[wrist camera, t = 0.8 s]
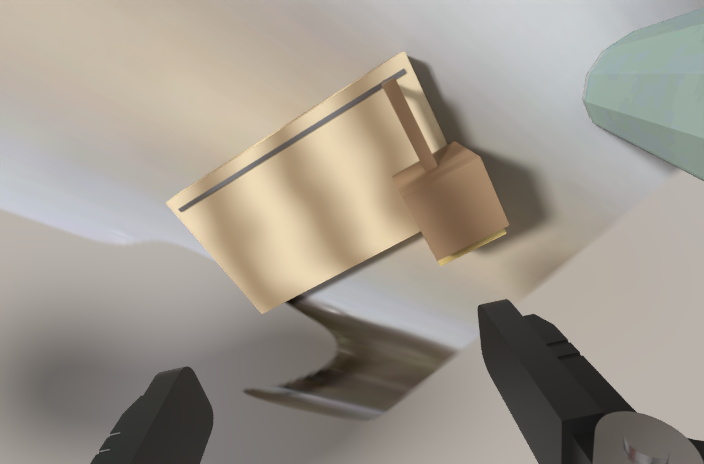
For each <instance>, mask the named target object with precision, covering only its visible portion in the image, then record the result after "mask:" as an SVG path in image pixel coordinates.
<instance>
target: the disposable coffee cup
mask: <svg viewBox="0 0 704 464" xmlns="http://www.w3.org/2000/svg"><path fill="white" fill-rule="evenodd" d="M583 101H584V104H585V107H586V109H587V112H588V114H589V117H590V118H591V120H592V122H593V123H595V124H597V125H598V126H600V127H602V128H604V129H605V130H607V131H609V132H611V133H613V134H615V135H616V136H618V137H620V138H622V139H624V140H626V141H628V142H630V143H632V144H634V145H636V146H638V147H639V148H641V149H643V150H645V151H647V152H649V153H651V154H653V155H655V156H657V157H659V158H661V159H662V160H664V161H666V162H668V163H670V164H672V165H674V166H676V167H678V168H680V169H682V170H684V171H685V172H687V173H689V174H691V175H693V176H695V177H697V178H699V179H701V180H703V181H704V8H701V9H698V10H695V11H692V12H690V13H687V14H684V15H681V16H678V17H675V18H672V19H669V20H666V21H663V22H660V23H657V24H654V25H651V26H648V27H645V28H642V29H639V30H636V31H633V32H632V33H630V34H629V35H627V36H626V37H624V38H622V39H621V40H619V41H618V42H616V43H615V44H613V45H612V46H610V47H609V48H607V49H606V50H605V51H604V52H602V53H601V55H600V56H599V58H598V59H597V61H596V62H595V64H594V65H593V67H592V68H591V70H590V71H589V72H588V74H587V76H586V82H585V87H584V93H583Z"/></svg>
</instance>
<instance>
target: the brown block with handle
mask: <svg viewBox="0 0 704 464" xmlns="http://www.w3.org/2000/svg"><path fill="white" fill-rule="evenodd" d="M381 87H382V88H383V89H384V91H385V93H386V95H387V97H388V99H389V101H390V103H391V105H392V107H393V109H394V111H395V113H396V115H397V117H398V119H399V121H400V123H401V125H402V127H403V129H404V131H405V133H406V134H407V136H408V138H409V140H410V142H411V144H412V146H413V148H414V150H415V152H416V154H417V156H418V158H419V160H420V161H418V162H416V163H415V164H413V165H411V166H409V167H408V168H406V169H404V170H402V171H400V172H399V173H397V174H395V175H393V176H392V177H393V180H394V182H395V184H396V186H397V188H398V190H399V192H400V194H401V196H402V198H403V200H404V202H405V204H406V205H407V207H408V209H409V211H410V213H411V214H412V216H413V218H414V220H415V222H416V224H417V225H418V227H419V229H420V231H421V233H422V234H423V236H424V238H425V240H426V242H427V243H428V245H429V247H430V249H431V251H432V252H433V254H434V256H435V258H436V260H437V261H438V262H439V264H440V266H442V265H444V264H446V263H448V262H450V261H452V260H454V259H456V258H458V257H460V256H462V255H464V254H466V253H468V252H470V251H472V250H474V249H476V248H478V247H480V246H482V245H484V244H487V243H489V242H491V241H493V240H495V239H497V238H499V237H501V236H503V235H505V234H507V233H506V231H505V229H504V228H505V227H507V226H509V223H508V220H507V218H506V216H505V213H504V211H503V208H502V206H501V204H500V201H499V199H498V197H497V194H496V192H495V190H494V187H493V185H492V183H491V180H490V178H489V176H488V173H487V171H486V169H485V166H484V164H483V162H482V159H481V157H480V156H478V155H477V154H475V153H473V152H472V151H470V150H469V149H467V148H465V147H464V146H462V145H461V144H459V143H457V142H456V141H454V142H452V143H450V144H448V145H447V146H445V147H443V148H441V149H440V150H438V151H436V152H434V153H431V151H430V149H429V147H428V145H427V142H426V140H425V138H424V136H423V134H422V132H421V130H420V128H419V126H418V124H417V122H416V120H415V118H414V116H413V114H412V112H411V110H410V107H409V105H408V103H407V101H406V99H405V97H404V95H403V93H402V91H401V89H400V87H399V85H398V83H397V81H396V79H395V78H392V79H390V80H383V81H382V83H381Z"/></svg>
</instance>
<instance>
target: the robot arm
mask: <svg viewBox="0 0 704 464" xmlns="http://www.w3.org/2000/svg"><path fill="white" fill-rule="evenodd" d="M478 320H479V329H480V339H481V349H482V355H483V358H484V362H485V365H486V367H487V370H488V372H489V374H490V376H491V378H492V380H493V381H494V383H495V385H496V387H497V389H498V391H499V392H500V394H501V396H502V398H503V400H504V401H505V403H506V405H507V407H508V409H509V411H510V412H511V414H512V416H513V418H514V420H515V421H516V423H517V425H518V427H519V429H520V431H521V432H522V434H523V436H524V438H525V439H526V441H527V443H528V445H529V447H530V449H531V450H532V452H533V454H534V456H535V458H536V460H537V461H538V463H539V464H704V441H699V440H693V439H689V438H686V437H685V436H684V435H683V434H681V433H680V432H679V431H678V430H676V429H675V428H673V427H672V426H670V425H668V424H666V423H665V422H663V421H661V420H659V419H656V418H654V417H651V416H648V415H645V414H641V413H637V412H636V411H635V410H634V409H633V408H632V407H631V406H630V405H629V404H628V403H627V402H626V401H625V400H624V399H623V398H622V397H621V396H620V395H619V394H618V392H616V390H615V389H614V388H613V387H612V386H611V385H610V384H609V383H608V382H607V381H606V380H605V379H604V378H603V377H602V375H601V374H600V373H599V372H598V371H597V370H596V369H595V368H594V367H593V366H592V365H591V364H590V363H589V362H588V361H587V360H586V359H585V358H584V356H581V355H580V352H579V351H578V350H577V349H576V348H575V347H574V346H573V345H572V344H571V343H569V342H568V339H567V338H566V337H565V336H564V335H563V334H562V333H561V332H560V331H559V330H558V329H557V328H556V327H555V326H554V325H553V324H551V323H550V322H548V321H546V320H544V319H542V318H540V317H539V316H537V315H535V314H531V315H526V316H522V315H521V314H520V312H519V311H518V310H517V309H516V308H515V307H514V305H513V304H512V303H511V302H510V301H509V300H507V299H505V300H500V301H495V302H491V303H486V304H481V305H479V306H478ZM212 427H213V410H212V406H211V404H210V402H209V400H208V398H207V396H206V395H205V392H204V390H203V388H202V387H201V384H200V382H199V381H198V378H197V377H196V375H195V373H194V371H193V370H192V369H191V368H190V367H183V368H178V369H173V370H168V371H164V372H160V373H158V374H157V375H156V376H155V378H154V379H153V381H152V382H151V384H150V386H149V387H148V389H147V391H146V392H145V394H144V395H143V396H140V397H139V398H138V399H137V400H136V401H135V402H134V403H133V404H132V405H131V406H130V407H129V408H128V409H127V410H126V411H125V413H123V414H122V416H121V417H120V419H119V421H118V422H117V424H116V425H115V427H114V428H113V430H112V431H111V433H110V437H108V438H107V439H106V441H105V442H104V444H103V445H102V447H101V448H100V450H99V451H100V452H99V454H97V455H96V456H95V458H94V459H93V460H92V462H91V464H200V462H201V459H202V456H203V453H204V450H205V448H206V445H207V442H208V439H209V437H210V434H211V431H212Z"/></svg>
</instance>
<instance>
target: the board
mask: <svg viewBox="0 0 704 464" xmlns="http://www.w3.org/2000/svg"><path fill="white" fill-rule="evenodd" d="M392 78H395V79H396V81H397V83H398V85H399V87H400V89H401V91H402V93H403V95H404V97H405V99H406V101H407V103H408V105H409V107H410V110H411V112H412V114H413V116H414V118H415V120H416V122H417V124H418V126H419V128H420V130H421V132H422V134H423V136H424V138H425V140H426V142H427V145H428V147H429V149H430V151H431V153H434V152H436V151H438V150H440V149H441V148H443V147H445V146H447V145H448V144H447V142H446V140H445V138H444V135H443V133H442V131H441V129H440V127H439V125H438V122H437V120H436V118H435V116H434V114H433V112H432V109H431V107H430V105H429V103H428V101H427V99H426V96H425V94H424V92H423V90H422V88H421V86H420V83H419V81H418V79H417V77H416V75H415V73H414V70H413V68H412V66H411V64H410V62H409V60H408V57H407V55H406V53H405V51H404V52H401V53H399V54H397V55H396V56H394V57H392V58H391V59H389V60H388V61H386V62H385V63H383V64H381V65H380V66H378V67H377V68H375V69H373V70H372V71H370V72H369V73H367V74H366V75H364V76H362V77H361V78H359V79H358V80H356V81H355V82H353V83H351V84H350V85H348V86H347V87H345V88H344V89H342V90H340V91H339V92H337V93H336V94H334V95H332V96H331V97H329V98H328V99H326V100H325V101H323V102H321V103H320V104H318V105H317V106H315V107H314V108H312V109H310V110H309V111H307V112H306V113H304V114H303V115H301V116H299V117H298V118H296V119H295V120H293V121H291V122H290V123H288V124H287V125H285V126H284V127H282V128H280V129H279V130H277V131H276V132H274V133H273V134H271V135H269V136H268V137H266V138H265V139H263V140H261V141H260V142H258V143H257V144H255V145H254V146H252V147H250V148H249V149H247V150H246V151H244V152H243V153H241V154H239V155H238V156H236V157H235V158H233V159H232V160H230V161H228V162H227V163H225V164H224V165H222V166H220V167H219V168H217V169H216V170H214V171H213V172H211V173H209V174H208V175H206V176H205V177H203V178H202V179H200V180H198V181H197V182H195V183H194V184H192V185H190V186H189V187H187V188H186V189H184V190H183V191H181V192H179V193H178V194H176V195H175V196H174V197H172V198H171V199H170V200H168V201H167V202H166V204H167V205H168V206H169V207H170V208H171V210H172V211H173V212H174V213H175V214H176V215H177V217H178V218H179V219H180V220H181V221H182V222H183V223H184V225H185V226H186V227H187V228H188V229H189V230H190V232H191V233H192V234H193V235H194V236H195V237H196V238H197V240H198V241H199V242H200V243H201V244H202V245H203V247H204V248H205V249H206V250H207V251H208V252H209V253H210V255H211V256H212V257H213V258H214V259H215V260H216V262H217V263H218V264H219V265H220V266H221V267H222V268H223V270H224V271H225V272H226V273H227V274H228V275H229V277H230V278H231V279H232V280H233V281H234V282H235V283H236V285H237V286H238V287H239V288H240V289H241V290H242V292H243V293H244V294H245V295H246V296H247V297H248V299H249V300H250V301H251V302H252V303H253V304H254V305H255V307H256V308H257V309H258V310H259V311H260V312H261V313H262V314H263V313H265V312H267V311H269V310H271V309H273V308H275V307H277V306H278V305H280V304H282V303H284V302H286V301H288V300H290V299H292V298H294V297H296V296H298V295H300V294H301V293H303V292H305V291H307V290H309V289H311V288H313V287H315V286H317V285H319V284H321V283H323V282H325V281H326V280H328V279H330V278H332V277H334V276H336V275H338V274H340V273H342V272H344V271H346V270H348V269H349V268H351V267H353V266H355V265H357V264H359V263H361V262H363V261H365V260H367V259H369V258H371V257H372V256H374V255H376V254H378V253H380V252H382V251H384V250H386V249H388V248H390V247H392V246H394V245H396V244H397V243H399V242H401V241H403V240H405V239H407V238H409V237H411V236H413V235H415V234H417V233H419V232H420V229H419V227H418V225H417V224H416V222H415V220H414V218H413V216H412V214H411V213H410V211H409V209H408V207H407V205H406V204H405V202H404V200H403V198H402V196H401V194H400V192H399V190H398V188H397V186H396V184H395V182H394V180H393V177H392V176H393V175H395V174H397V173H399V172H400V171H402V170H404V169H406V168H408V167H409V166H411V165H413V164H415V163H416V162H418V161H420V160H419V158H418V156H417V154H416V152H415V150H414V148H413V146H412V144H411V142H410V140H409V138H408V136H407V134H406V133H405V131H404V129H403V127H402V125H401V123H400V121H399V119H398V117H397V115H396V113H395V111H394V109H393V107H392V105H391V103H390V101H389V99H388V97H387V95H386V93H385V91H384V89H383V88H382V87H381V83H382V81H383V80H390V79H392Z"/></svg>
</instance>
